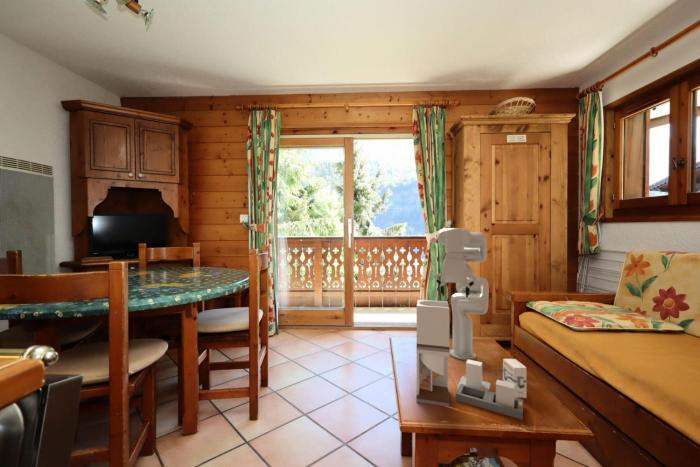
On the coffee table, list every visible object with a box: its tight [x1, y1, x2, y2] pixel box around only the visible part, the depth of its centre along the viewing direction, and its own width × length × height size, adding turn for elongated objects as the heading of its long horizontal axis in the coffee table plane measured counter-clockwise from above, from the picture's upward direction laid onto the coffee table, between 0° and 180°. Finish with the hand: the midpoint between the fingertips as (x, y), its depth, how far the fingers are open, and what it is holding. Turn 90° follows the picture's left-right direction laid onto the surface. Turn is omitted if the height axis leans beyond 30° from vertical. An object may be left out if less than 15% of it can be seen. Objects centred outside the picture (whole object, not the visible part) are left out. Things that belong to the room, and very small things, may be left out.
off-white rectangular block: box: [495, 379, 516, 408], centre depth 100 cm, size 4×6×9 cm
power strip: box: [455, 384, 524, 421], centre depth 103 cm, size 8×21×4 cm, turn 58°
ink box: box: [502, 358, 528, 399], centre depth 111 cm, size 9×5×12 cm, turn 0°
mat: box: [456, 375, 491, 391], centre depth 116 cm, size 11×11×1 cm
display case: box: [415, 299, 450, 408], centre depth 109 cm, size 11×11×35 cm
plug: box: [465, 359, 483, 389], centre depth 116 cm, size 4×6×9 cm
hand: (454, 295), depth 125 cm, fingers open, 9 cm apart
